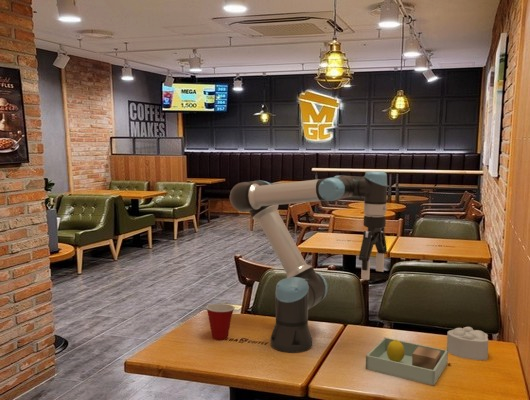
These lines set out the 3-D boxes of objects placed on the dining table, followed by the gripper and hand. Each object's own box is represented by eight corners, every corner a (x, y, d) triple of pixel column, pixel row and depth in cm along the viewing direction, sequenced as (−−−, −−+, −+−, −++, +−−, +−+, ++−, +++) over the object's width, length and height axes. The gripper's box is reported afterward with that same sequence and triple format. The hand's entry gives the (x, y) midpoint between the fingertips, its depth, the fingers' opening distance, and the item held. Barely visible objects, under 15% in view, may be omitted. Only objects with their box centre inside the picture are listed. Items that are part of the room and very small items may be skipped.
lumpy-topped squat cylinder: (487, 363, 164) (489, 338, 163) (446, 357, 169) (447, 332, 168) (486, 351, 173) (487, 327, 173) (447, 346, 178) (448, 323, 177)
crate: (365, 370, 158) (366, 355, 158) (384, 351, 173) (384, 337, 173) (433, 387, 147) (434, 371, 146) (447, 365, 162) (447, 350, 162)
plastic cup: (240, 335, 188) (240, 304, 187) (223, 344, 179) (223, 312, 178) (218, 329, 194) (217, 300, 192) (200, 338, 185) (199, 307, 183)
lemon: (404, 367, 159) (405, 343, 158) (386, 366, 160) (388, 342, 159) (403, 360, 164) (404, 337, 164) (385, 359, 165) (386, 335, 164)
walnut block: (411, 372, 156) (412, 353, 155) (417, 363, 162) (418, 346, 161) (434, 377, 152) (435, 358, 152) (439, 369, 158) (440, 350, 157)
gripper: (371, 220, 161) (369, 284, 163) (397, 212, 181) (394, 269, 184) (350, 218, 165) (348, 280, 167) (377, 211, 185) (375, 266, 188)
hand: (372, 275), depth 175 cm, fingers open, 13 cm apart
